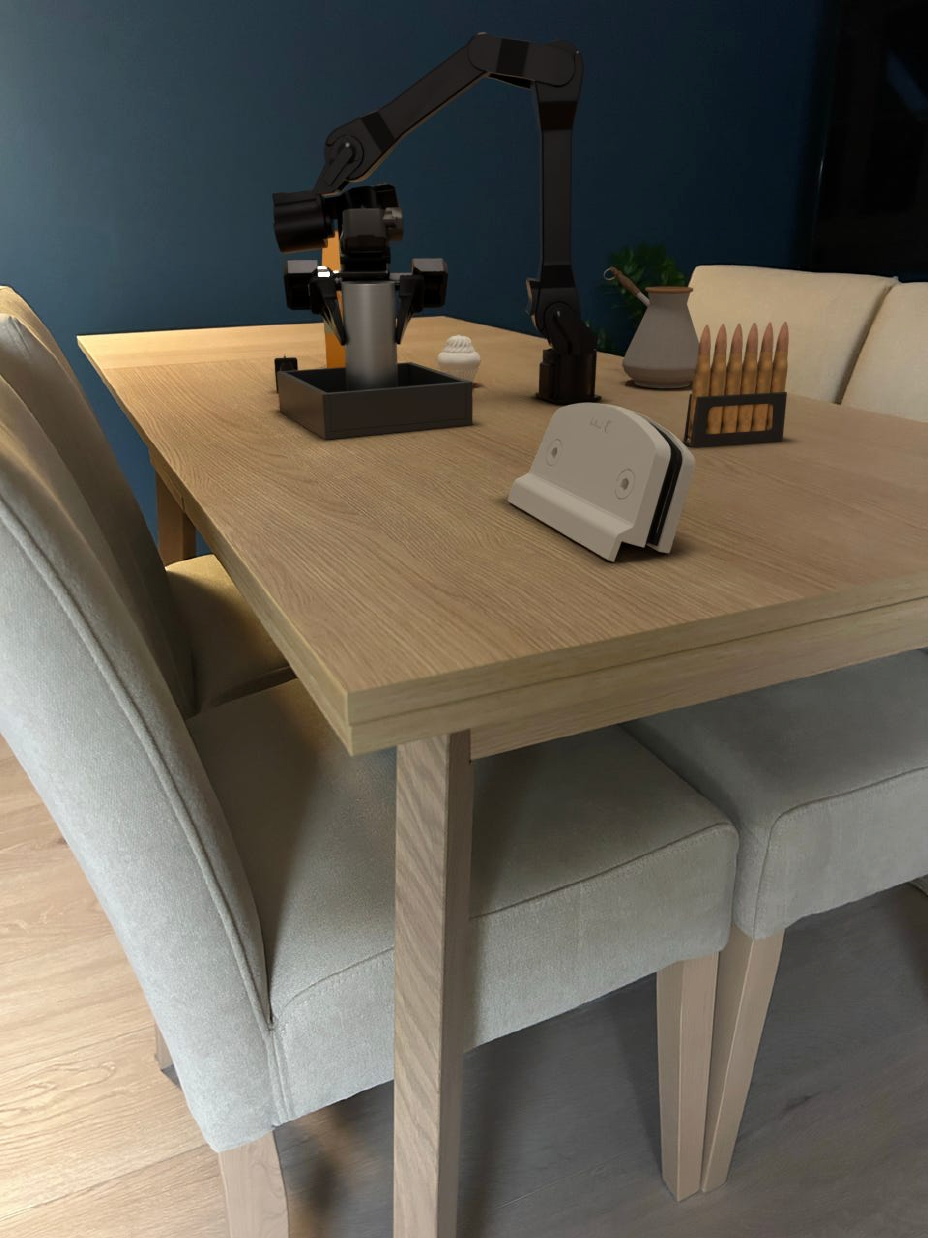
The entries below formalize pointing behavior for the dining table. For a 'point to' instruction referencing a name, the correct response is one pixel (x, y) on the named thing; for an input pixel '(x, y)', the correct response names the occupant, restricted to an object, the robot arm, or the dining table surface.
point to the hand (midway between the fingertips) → (370, 342)
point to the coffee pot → (661, 338)
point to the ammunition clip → (738, 390)
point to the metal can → (370, 334)
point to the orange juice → (333, 347)
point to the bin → (374, 402)
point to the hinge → (607, 479)
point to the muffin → (459, 358)
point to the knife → (285, 365)
